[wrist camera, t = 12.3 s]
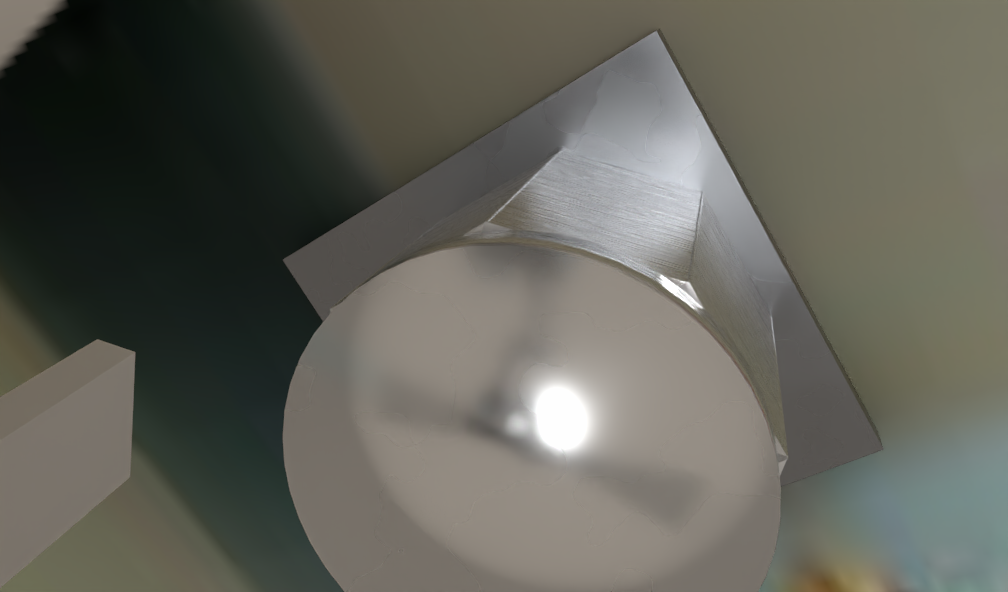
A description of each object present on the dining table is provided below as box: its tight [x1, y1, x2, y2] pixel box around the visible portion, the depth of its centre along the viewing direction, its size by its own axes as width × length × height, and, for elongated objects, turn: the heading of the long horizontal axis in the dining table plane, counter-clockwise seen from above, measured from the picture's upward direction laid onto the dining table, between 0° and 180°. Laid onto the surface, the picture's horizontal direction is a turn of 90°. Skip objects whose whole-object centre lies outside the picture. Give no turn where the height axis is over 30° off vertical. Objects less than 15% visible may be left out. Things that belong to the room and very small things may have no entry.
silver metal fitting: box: [283, 151, 788, 592], centre depth 20 cm, size 9×14×8 cm, turn 166°
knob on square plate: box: [283, 29, 883, 487], centre depth 21 cm, size 12×12×8 cm
